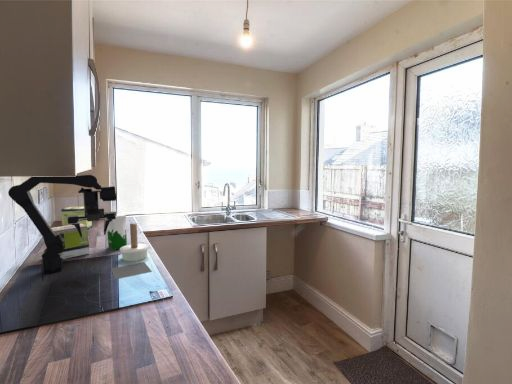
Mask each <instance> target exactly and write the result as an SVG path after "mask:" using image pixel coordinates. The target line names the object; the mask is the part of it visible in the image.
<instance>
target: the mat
mask: <svg viewBox="0 0 512 384" xmlns="http://www.w3.org/2000/svg"><path fill="white" fill-rule="evenodd" d="M110 270H111V272H112V274H113V277H114V278H115V280H119V279H123V278H128V277H133V276H138V275H142V274H147V273H151V272H153V271H152V270H151V268H150V267H149V266H148V265H147V264H146V262H145V261H142V262H138V263H132V264H126V265H123V266H122V265H121V266H117V267H111V268H110Z"/></svg>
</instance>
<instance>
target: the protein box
mask: <svg viewBox="0 0 512 384" xmlns="http://www.w3.org/2000/svg"><path fill="white" fill-rule="evenodd" d="M60 211H61V212H60V213H61V225H62V226H68V225H71V224H68V220H67V217H68V216H71V215H78V217H81V216H85V214H84V206H67V207H64V208H61V210H60ZM92 222H93V221H87V220H82V221H79V224H84V225H86V226H87V229H88V230H90V229H91V228H93V225H92ZM89 228H90V229H89Z"/></svg>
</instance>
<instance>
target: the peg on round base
mask: <svg viewBox="0 0 512 384" xmlns="http://www.w3.org/2000/svg"><path fill="white" fill-rule="evenodd" d="M137 225H138V223H136V222H133V223H130V224H129V230H130V231H129V232H130V244H127V245H126V246H123V247H121V248H120V249H119V252H120V253H121V254H122V253H137V252H142V251H145V250H147V251H148V250H149V249H150V246H149V244H147V243H139V242H138V226H137Z"/></svg>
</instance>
